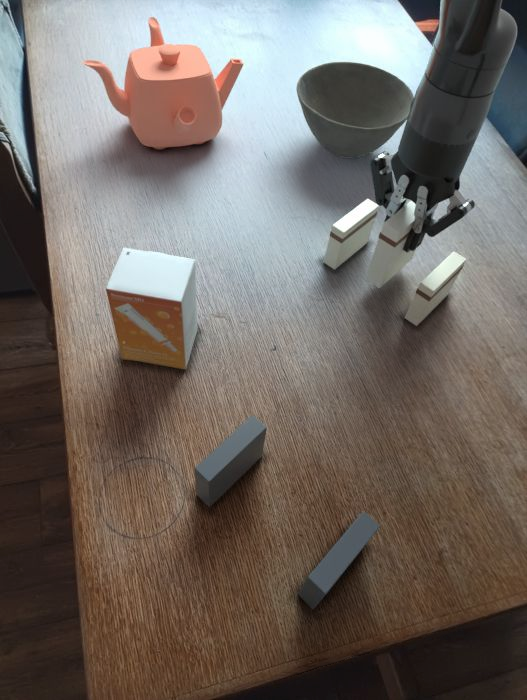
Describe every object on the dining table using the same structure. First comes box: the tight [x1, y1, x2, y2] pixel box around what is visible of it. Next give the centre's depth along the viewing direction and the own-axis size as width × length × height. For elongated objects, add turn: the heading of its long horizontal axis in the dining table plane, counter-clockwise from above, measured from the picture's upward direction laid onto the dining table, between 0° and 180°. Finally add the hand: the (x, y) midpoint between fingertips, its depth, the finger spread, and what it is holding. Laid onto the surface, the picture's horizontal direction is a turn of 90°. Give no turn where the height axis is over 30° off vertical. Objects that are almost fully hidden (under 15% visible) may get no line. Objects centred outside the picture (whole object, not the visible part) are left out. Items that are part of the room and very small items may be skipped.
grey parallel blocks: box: [194, 414, 381, 610], centre depth 53 cm, size 16×8×7 cm, turn 47°
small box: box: [105, 247, 198, 370], centre depth 62 cm, size 8×6×13 cm
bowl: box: [296, 61, 415, 159], centre depth 90 cm, size 19×19×10 cm
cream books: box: [323, 198, 467, 327], centre depth 74 cm, size 16×8×7 cm, turn 47°
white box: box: [365, 200, 417, 289], centre depth 71 cm, size 2×8×10 cm, turn 137°
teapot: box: [82, 16, 244, 150], centre depth 87 cm, size 18×18×14 cm
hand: (398, 241), depth 71 cm, fingers closed on white box, 2 cm apart
